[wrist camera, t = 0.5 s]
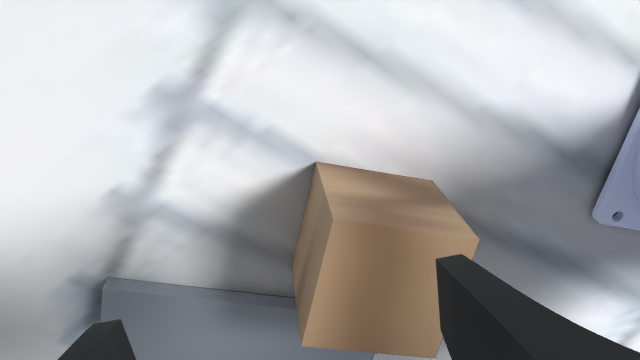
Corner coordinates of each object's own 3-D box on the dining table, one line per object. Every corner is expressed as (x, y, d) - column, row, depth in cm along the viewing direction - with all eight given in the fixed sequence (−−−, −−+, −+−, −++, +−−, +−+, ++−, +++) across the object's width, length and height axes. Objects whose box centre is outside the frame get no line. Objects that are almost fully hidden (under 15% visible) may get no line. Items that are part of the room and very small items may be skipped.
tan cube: (431, 180, 21) (479, 239, 17) (399, 280, 23) (435, 358, 19) (315, 161, 20) (333, 218, 16) (291, 267, 22) (301, 345, 18)
